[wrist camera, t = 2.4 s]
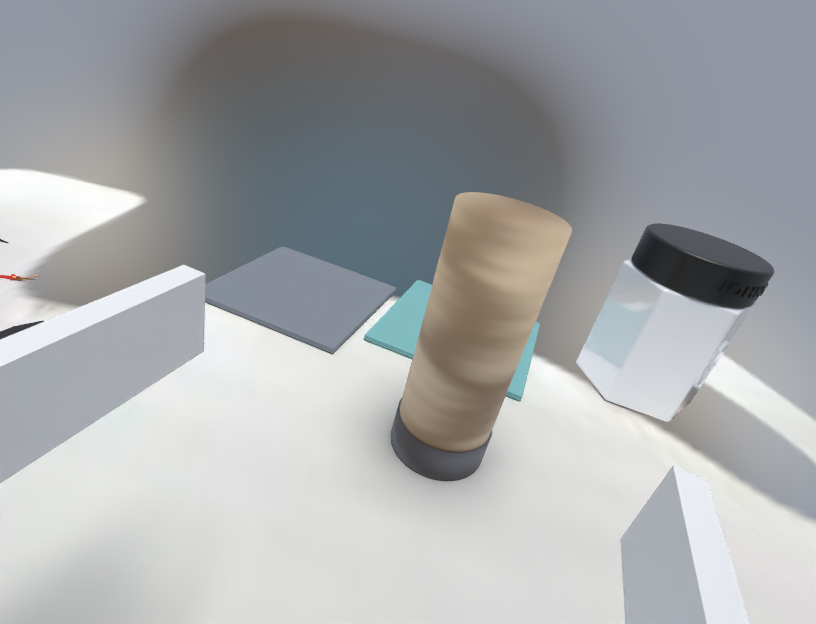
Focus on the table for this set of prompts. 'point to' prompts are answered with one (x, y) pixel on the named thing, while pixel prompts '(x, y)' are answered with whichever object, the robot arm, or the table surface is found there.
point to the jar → (670, 318)
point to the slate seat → (300, 297)
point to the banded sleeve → (475, 330)
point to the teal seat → (405, 323)
